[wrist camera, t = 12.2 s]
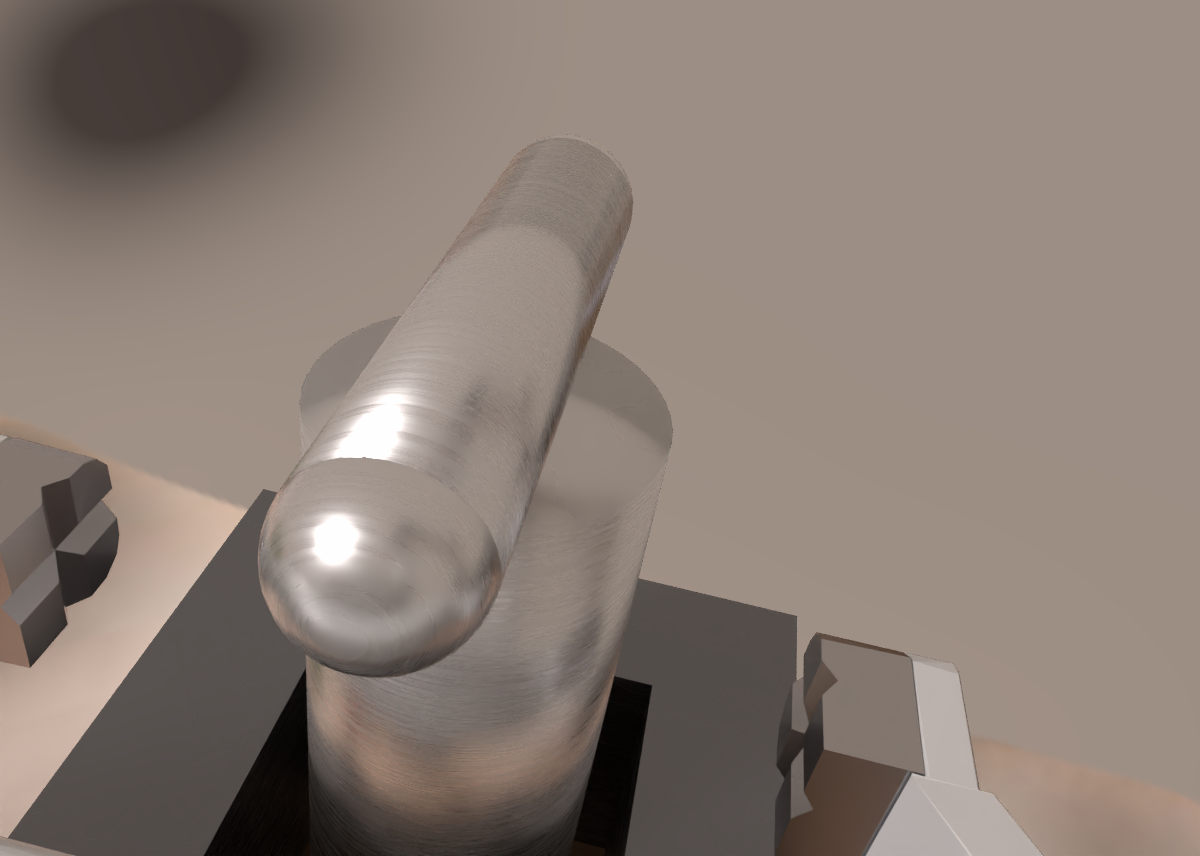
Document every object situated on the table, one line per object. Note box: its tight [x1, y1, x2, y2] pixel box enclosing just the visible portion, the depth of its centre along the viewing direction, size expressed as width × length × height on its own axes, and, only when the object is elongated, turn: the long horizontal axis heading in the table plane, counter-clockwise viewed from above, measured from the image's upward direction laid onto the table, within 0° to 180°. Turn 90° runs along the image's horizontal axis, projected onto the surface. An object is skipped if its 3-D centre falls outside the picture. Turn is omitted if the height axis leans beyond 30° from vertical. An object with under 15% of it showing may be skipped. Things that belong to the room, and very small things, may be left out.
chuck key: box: [258, 134, 673, 856], centre depth 14 cm, size 9×4×14 cm, turn 170°
